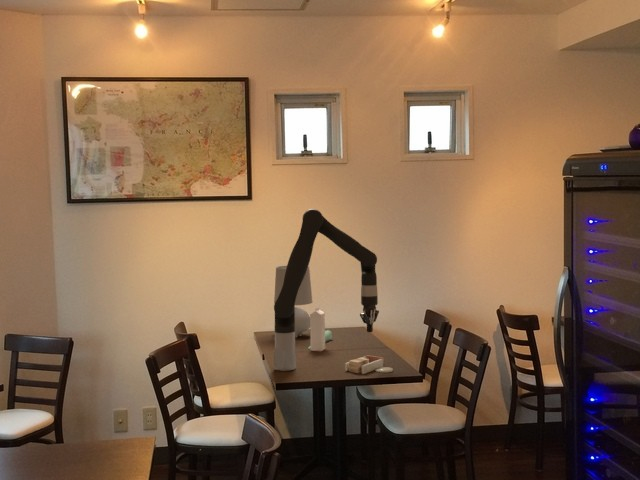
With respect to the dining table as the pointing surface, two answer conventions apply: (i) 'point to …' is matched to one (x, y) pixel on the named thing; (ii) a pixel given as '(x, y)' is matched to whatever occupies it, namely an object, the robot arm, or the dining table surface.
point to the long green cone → (327, 337)
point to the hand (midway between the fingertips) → (369, 332)
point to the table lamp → (297, 298)
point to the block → (357, 364)
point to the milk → (317, 330)
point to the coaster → (384, 369)
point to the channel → (369, 364)
